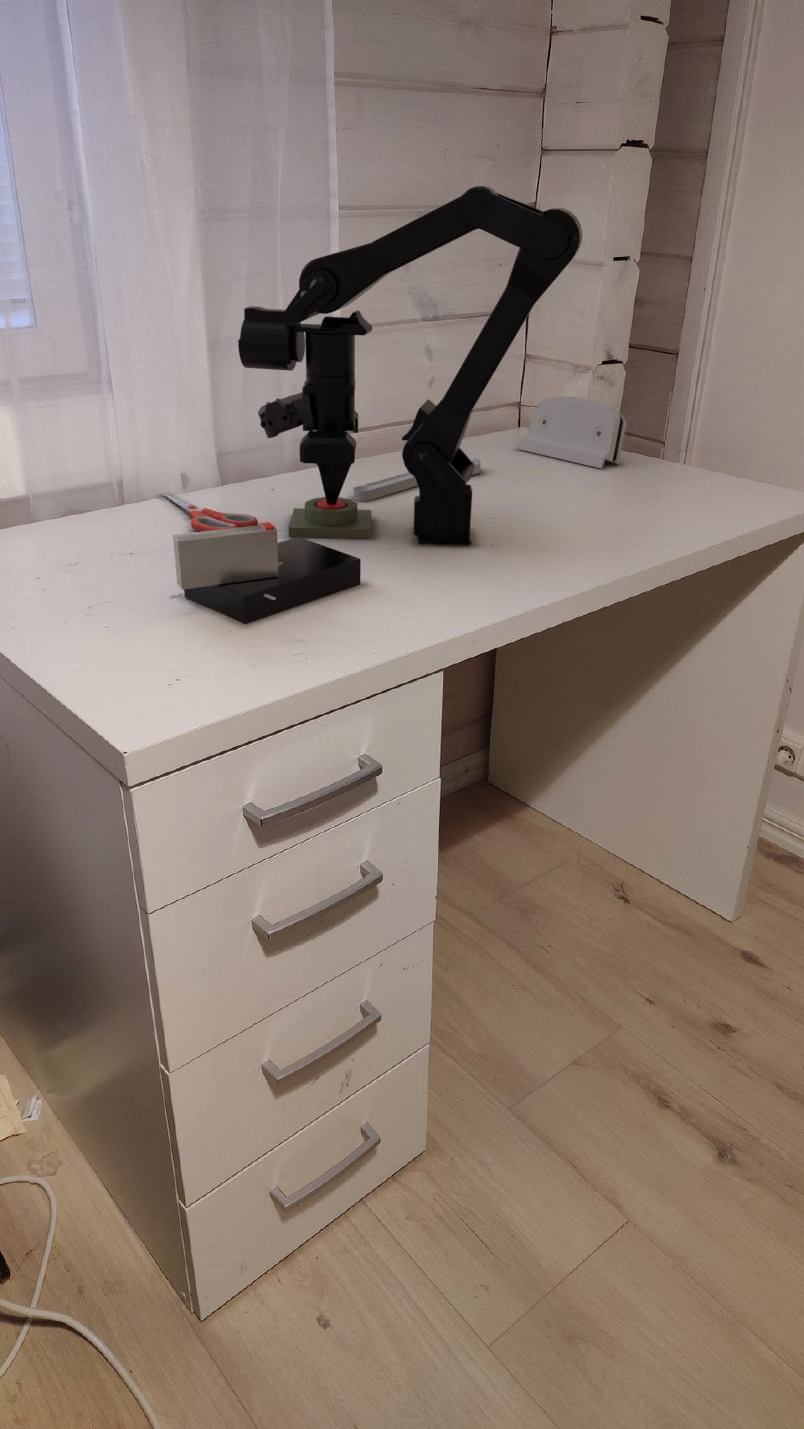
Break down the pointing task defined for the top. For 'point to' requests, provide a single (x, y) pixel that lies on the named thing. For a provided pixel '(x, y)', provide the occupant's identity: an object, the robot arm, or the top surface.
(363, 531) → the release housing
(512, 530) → the top surface
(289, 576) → the black flat block
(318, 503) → the release button
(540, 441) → the grey mounting bracket
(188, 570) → the silver metal slab
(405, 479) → the adjustable wrench
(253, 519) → the scissors
